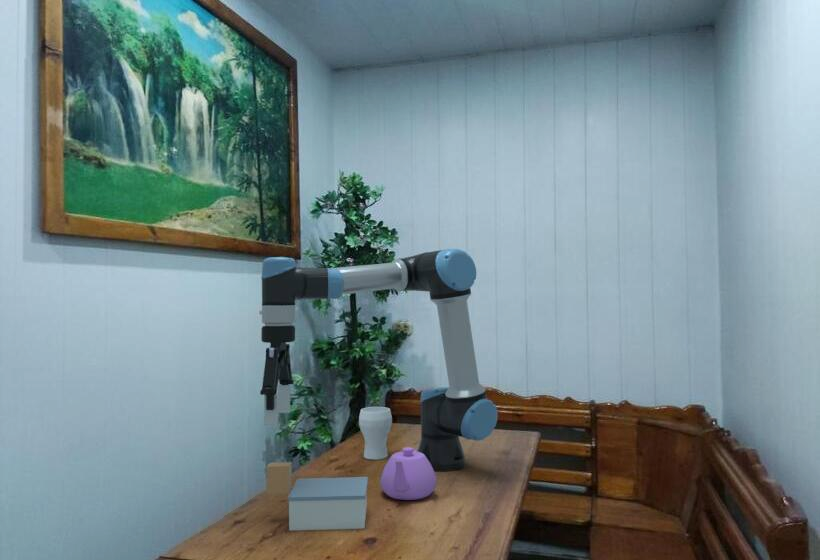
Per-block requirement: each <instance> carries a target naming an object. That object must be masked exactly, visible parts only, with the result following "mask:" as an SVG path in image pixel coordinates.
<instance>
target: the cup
mask: <svg viewBox="0 0 820 560" xmlns="http://www.w3.org/2000/svg"><path fill="white" fill-rule="evenodd" d="M358 425H359V428H360V432H361V434H362V435H363V438H364V450H363V451H364V452H363V458H365V459H367V460H383V459H386V458H388V457H389V453H388V448H387V440H388V435H389V433H390V431H391V428H392V425H393V417H392V412H391V408H389V407H384V406H369V407H364V408H361V409H360V412H359V417H358Z"/></svg>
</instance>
